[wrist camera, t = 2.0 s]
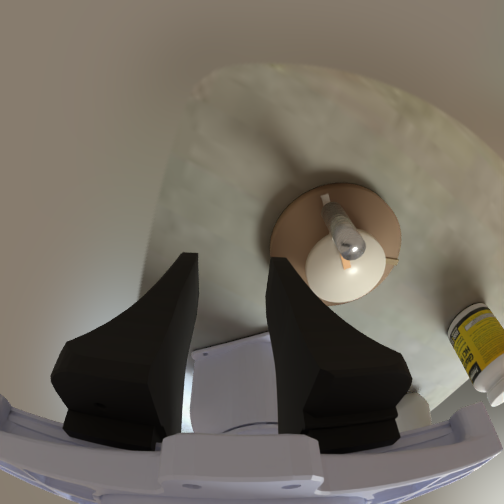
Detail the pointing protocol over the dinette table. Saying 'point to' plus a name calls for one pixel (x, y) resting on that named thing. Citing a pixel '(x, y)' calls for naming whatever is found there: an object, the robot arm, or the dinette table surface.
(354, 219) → the base
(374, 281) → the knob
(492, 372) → the pill bottle
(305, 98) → the dinette table surface
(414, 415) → the salt shaker
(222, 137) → the dinette table surface
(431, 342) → the dinette table surface
